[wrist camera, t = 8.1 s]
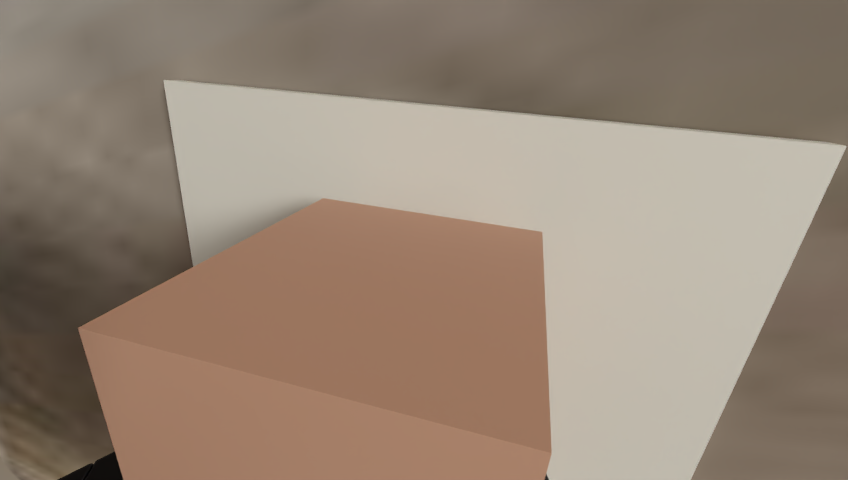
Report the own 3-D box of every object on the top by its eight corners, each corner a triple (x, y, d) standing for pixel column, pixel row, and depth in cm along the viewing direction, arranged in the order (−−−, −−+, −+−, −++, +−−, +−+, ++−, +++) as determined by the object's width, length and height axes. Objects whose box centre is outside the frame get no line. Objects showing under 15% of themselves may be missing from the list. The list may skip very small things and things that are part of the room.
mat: (827, 141, 7) (846, 146, 7) (641, 555, 12) (645, 574, 11) (179, 80, 10) (163, 79, 10) (230, 431, 15) (221, 442, 14)
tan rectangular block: (485, 515, 11) (448, 839, 6) (328, 467, 11) (193, 715, 7) (542, 231, 8) (551, 452, 3) (323, 198, 8) (77, 327, 4)
